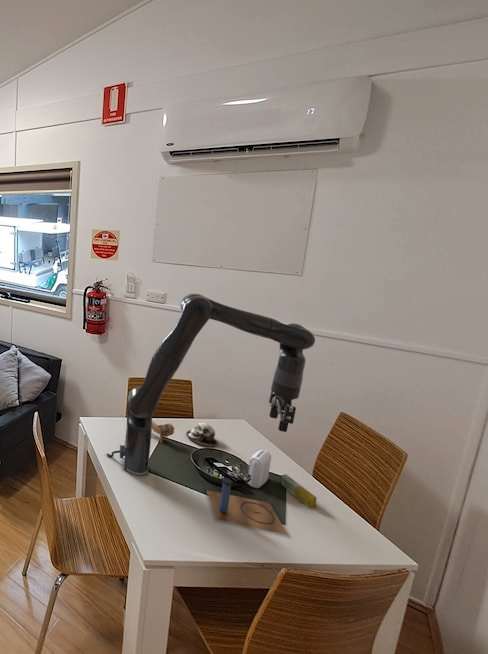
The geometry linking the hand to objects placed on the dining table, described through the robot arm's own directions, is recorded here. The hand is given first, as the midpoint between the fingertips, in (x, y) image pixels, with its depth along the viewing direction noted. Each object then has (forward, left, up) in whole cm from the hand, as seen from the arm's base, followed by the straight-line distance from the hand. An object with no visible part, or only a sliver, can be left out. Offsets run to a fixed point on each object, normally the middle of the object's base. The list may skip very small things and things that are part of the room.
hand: (277, 424), depth 130 cm
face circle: (-7, -11, -28) cm, 31 cm away
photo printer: (-1, +7, -28) cm, 29 cm away
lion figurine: (-34, +26, -28) cm, 51 cm away
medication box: (+10, +3, -28) cm, 30 cm away
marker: (-18, -14, -28) cm, 36 cm away
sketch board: (-11, -12, -28) cm, 32 cm away
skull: (-15, +31, -28) cm, 44 cm away
